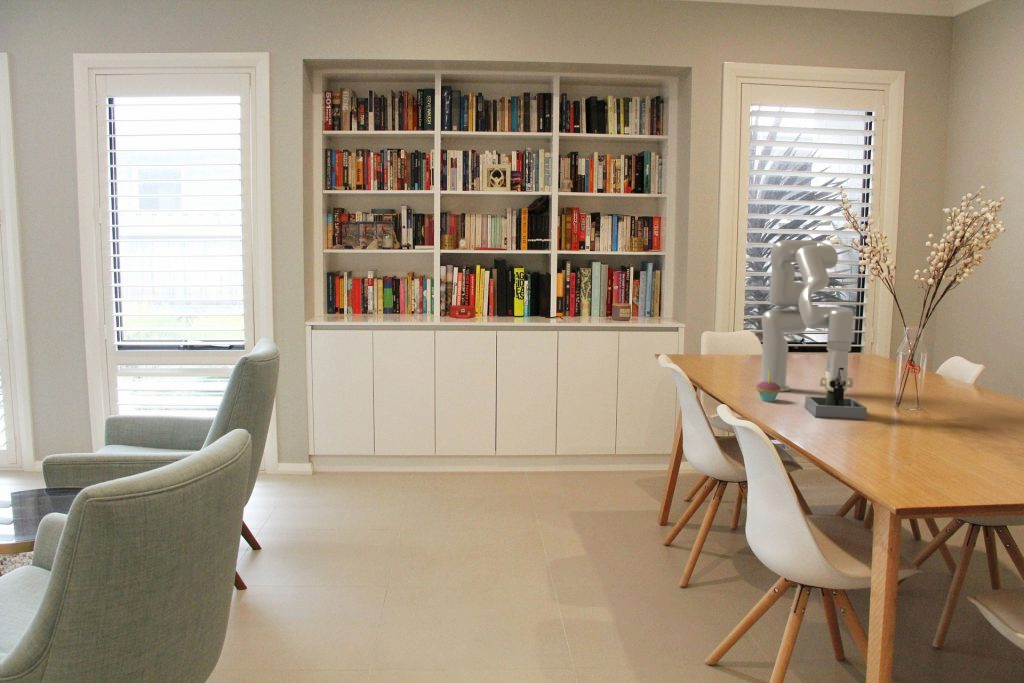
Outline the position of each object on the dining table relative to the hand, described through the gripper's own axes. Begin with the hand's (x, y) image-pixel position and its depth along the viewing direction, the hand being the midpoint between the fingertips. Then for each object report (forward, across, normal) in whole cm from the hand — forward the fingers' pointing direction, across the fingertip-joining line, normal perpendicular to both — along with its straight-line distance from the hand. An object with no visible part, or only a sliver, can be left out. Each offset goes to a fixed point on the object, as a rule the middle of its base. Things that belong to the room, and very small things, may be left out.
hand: (835, 397), depth 265 cm
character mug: (+5, 0, 0) cm, 5 cm away
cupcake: (+6, -18, -19) cm, 27 cm away
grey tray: (+6, 0, 0) cm, 6 cm away
